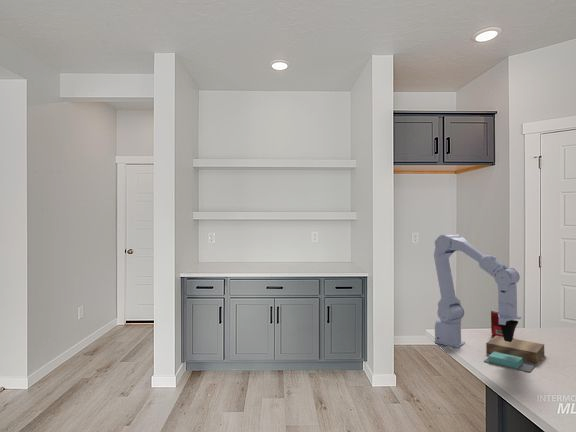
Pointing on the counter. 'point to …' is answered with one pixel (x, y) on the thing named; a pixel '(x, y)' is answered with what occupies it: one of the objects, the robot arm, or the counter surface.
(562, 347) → the counter surface
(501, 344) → the board
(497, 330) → the canned food
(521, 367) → the mat
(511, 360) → the teal rectangular block
